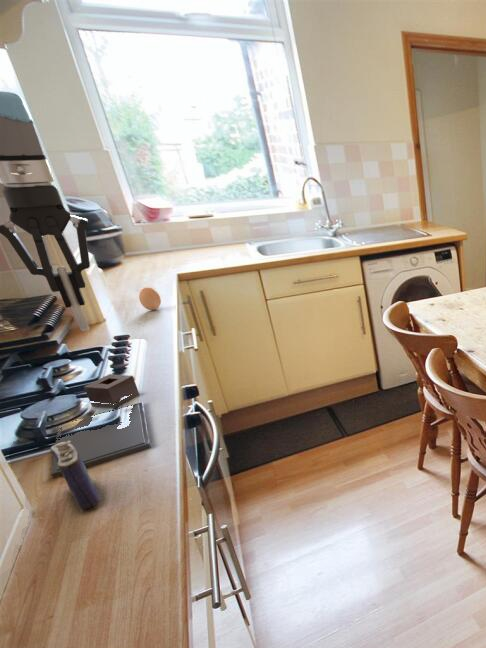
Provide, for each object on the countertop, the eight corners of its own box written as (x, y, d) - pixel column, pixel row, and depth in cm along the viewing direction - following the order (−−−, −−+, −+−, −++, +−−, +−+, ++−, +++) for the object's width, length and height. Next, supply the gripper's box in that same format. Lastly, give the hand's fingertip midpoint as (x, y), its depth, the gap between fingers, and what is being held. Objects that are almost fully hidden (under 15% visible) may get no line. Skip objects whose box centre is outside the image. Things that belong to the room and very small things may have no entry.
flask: (69, 489, 79) (43, 436, 75) (91, 480, 81) (67, 428, 77) (81, 514, 73) (54, 459, 69) (104, 504, 75) (80, 450, 71)
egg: (147, 308, 165) (139, 285, 161) (165, 306, 166) (158, 284, 163) (140, 313, 160) (132, 290, 156) (160, 311, 161) (152, 288, 158)
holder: (91, 406, 103) (83, 386, 101) (117, 392, 109) (109, 374, 107) (115, 408, 103) (107, 388, 101) (139, 394, 108) (132, 375, 106)
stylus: (79, 332, 98) (53, 267, 92) (86, 329, 99) (61, 265, 94) (85, 332, 97) (60, 267, 92) (92, 330, 99) (67, 265, 93)
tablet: (60, 428, 96) (57, 424, 95) (143, 405, 104) (142, 401, 103) (53, 478, 81) (50, 473, 81) (151, 447, 89) (149, 442, 89)
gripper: (-32, 188, 80) (25, 317, 89) (79, 184, 88) (120, 302, 98) (-25, 185, 85) (28, 307, 94) (80, 181, 93) (119, 293, 103)
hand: (75, 304), depth 96 cm, fingers closed on stylus, 1 cm apart
